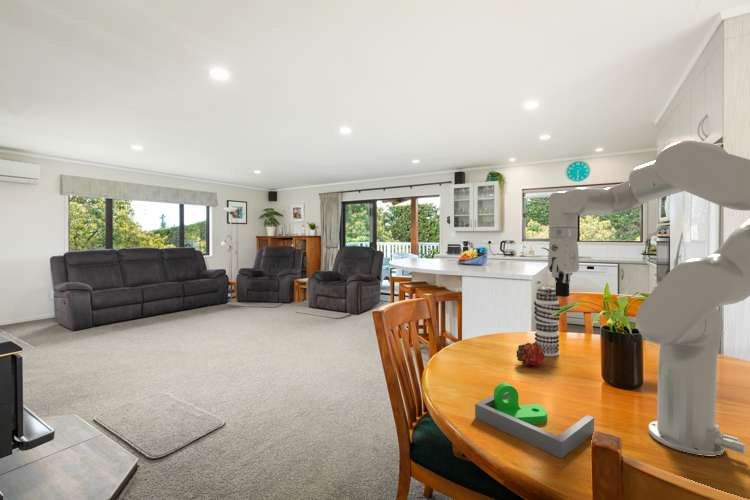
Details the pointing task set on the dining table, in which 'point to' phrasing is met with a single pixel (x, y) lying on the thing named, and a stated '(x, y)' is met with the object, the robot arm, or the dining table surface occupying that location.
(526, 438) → the u-shaped bracket
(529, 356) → the dragon fruit
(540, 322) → the decorative candle
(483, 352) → the dining table surface
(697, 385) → the robot arm
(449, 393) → the dining table surface
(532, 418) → the mechanical part
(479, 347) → the dining table surface
